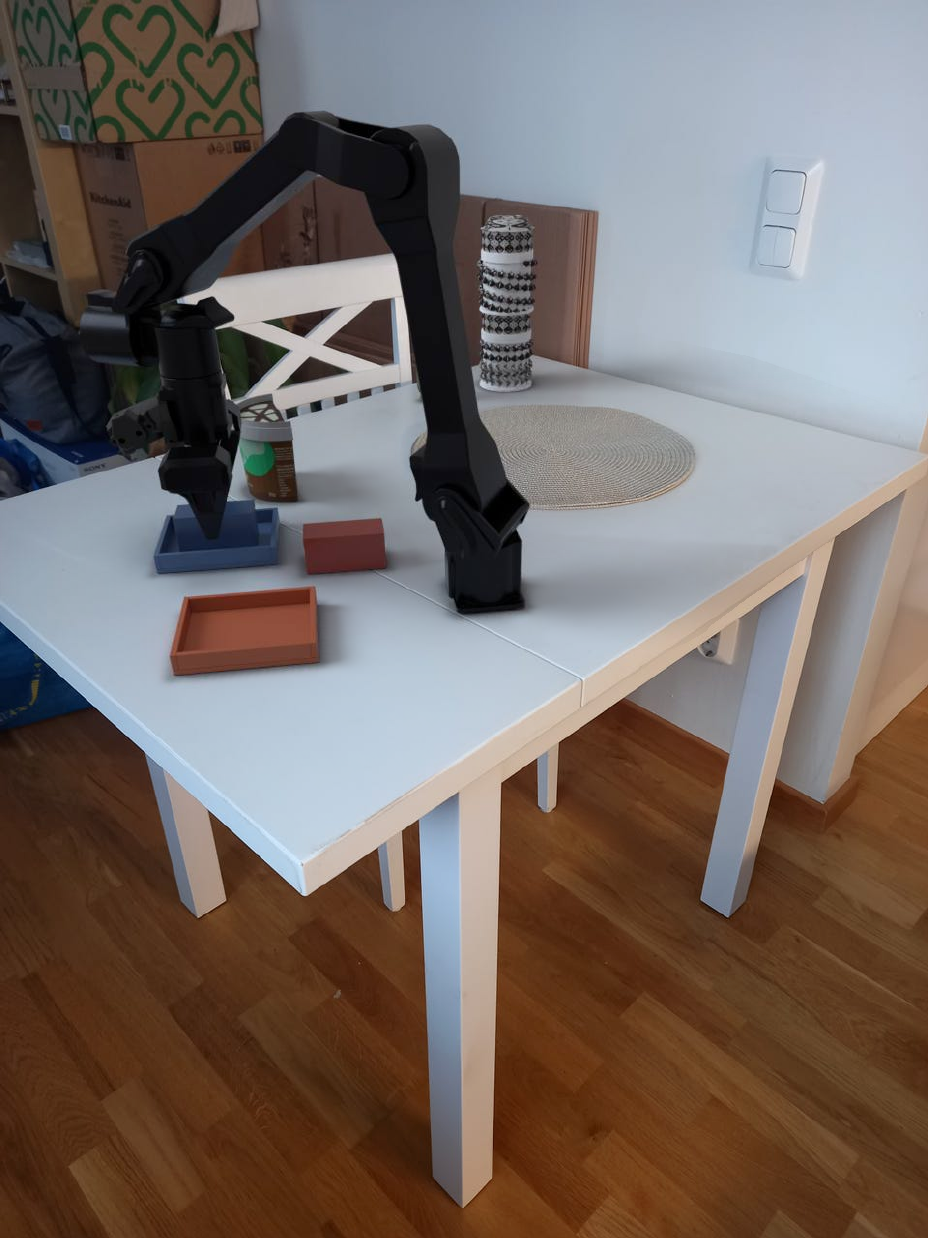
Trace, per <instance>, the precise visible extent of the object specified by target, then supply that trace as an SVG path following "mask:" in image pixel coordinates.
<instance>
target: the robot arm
mask: <svg viewBox="0 0 928 1238" xmlns="http://www.w3.org/2000/svg"><path fill="white" fill-rule="evenodd" d="M460 160H461V159H460V155H459V151H458V149H457V145H456V143H455V142H454V140H453V138H452V137H450V136H448V134H446V133H445V132H444V130H442V129H441V128H439V127H436V126H434V125H433V124H425V123H424V124H423V123H422V124H421V123H420V124H411V125H402V126H401V125H400V126H392V127H390V126H385V125H379V124H375V123H369V122H364V121H359V120H354V119H348V118H345V117H341V116H338V115H335V114H333V113H332V112H329V111H327V110H314V111H313V110H312V111H299V112H293V113H291V114H289V115H288V116H287V117H286V118H285V119H284V120H283V122H282V123H281V125H280V126H279V128H278V129H277V131H275V132H274V133H273V134H272V135H271V136H270V137H269V138H267V140H266V141H264V143H262V144H261V145H260V146H259V147H258V148H256V150H255V151H253V152H252V154H251V155H249V156H248V157H247V158H246V159H245V160H244V161H243V162H242V163H241V164H239V166H237V167H236V168H235V169H234V170H233V171H232V172H231V173H230V174H229V175H227V177H225V178H224V179H223V180H222V181H221V182H220V183H219V184H218V185H217V186H215V188H214V189H212V191H210V192H209V193H208V194H207V195H206V196H205V197H204V198H203V199H201V200H200V201H199V202H198V203H197V204H196V205H195V206H194V207H193V208H190V209H189V210H187V211H185V212H184V213H181V214H179V215H177V216H175V217H173V218H170V219H168V220H165V221H163V222H160V223H159V224H157V225H155V226H153V227H151V228H149V229H148V230H145V231H144V232H143V233H140V234H139V235H137V236H134V238H133V239H132V240H131V241H130V242H129V244H128V245H127V248H126V251H125V256H126V258H127V265H126V267H125V270H124V272H123V275H122V277H121V280H120V282H119V286H118V288H117V291H113V290H111V289H102V288H100V289H96V290H93V291H89V292H87V293H86V294H85V295H86V296H85V298H86V300H87V307H86V308H85V309H84V311H83V313H82V315H81V317H80V322H79V331H78V333H77V336H78V340H79V343H80V347H81V349H82V350H83V352H84V354H86V356H87V357H88V358H89V359H90V360H92V361H94V362H96V363H99V364H109V365H117V366H118V365H120V366H129V367H137V368H151V367H154V366H155V365H156V364H157V363H158V364H157V365H158V369H159V375H160V380H161V386H160V388H159V389H158V390H157V391H156V395H155V396H152V397H149V398H147V399H144V400H142V401H140V402H137V403H135V404H133V405H131V406H129V407H126V408H123V409H121V410H119V411H118V412H116V413H114V414H113V415H112V416H111V418H110V419H109V421H108V423H107V424H106V426H105V428H106V432H107V433H108V435H109V444H110V445H111V446H113V447H118V449H119V451H120V452H121V453H122V455H123V456H131V455H133V454H135V453H136V452H137V450H138V449H141V448H143V447H146V446H148V445H150V444H152V443H155V442H157V441H160V440H161V439H163V440H164V445H177V444H179V443H181V444H182V445H183V446H172V447H170V448H169V449H168V450H167V451H166V452H165V454H164V455H163V456H162V459H161V461H160V464H159V466H158V469H157V473H158V474H157V475H158V480H159V484H160V488H161V490H163V491H166V492H168V493H170V494H173V495H179V496H180V497H182V498H183V499H185V500H186V501H187V504H189V505H190V507H191V509H192V511H193V513H194V515H195V517H196V519H197V521H198V523H199V525H200V527H201V529H202V531H203V533H204V535H205V537H206V539H208V540H215V539H218V536H219V532H220V528H221V524H222V519H223V515H224V511H225V507H226V503H227V501H228V499H229V495H230V494H229V493H230V491H231V487H232V481H233V471H234V465H235V462H236V457H237V453H238V448H239V440H240V435H241V431H240V430H241V425H242V421H241V414H240V407H239V406H238V405H236V404H237V403H235V402H234V401H233V400H231V399H229V398H227V394H226V387H227V384H228V383H227V382H228V381H227V375H226V373H225V372H223V370H222V369H223V368H222V363H221V356H220V350H219V343H218V337H217V329H216V328H219V327H222V326H225V325H227V324H230V323H232V322H234V321H235V314H234V313H233V312H231V311H230V310H229V308H227V307H225V306H223V305H222V303H220V302H219V301H218V299H217V298H216V297H215V296H213V295H211V296H208V297H205V298H202V299H199V300H198V301H197V303H196V304H195V303H183V302H177V303H173V304H172V305H170V306H169V307H167V309H166V310H162V309H161V308H162V307H161V305H164V304H167V303H171V302H174V301H177V300H181V299H183V298H185V297H188V296H191V295H195V294H198V293H200V292H204V291H206V290H208V289H210V288H211V287H212V286H213V285H214V284H215V283H216V281H217V280H218V279H219V278H220V276H221V275H222V274H223V272H224V271H225V270H226V269H227V267H228V266H229V264H230V262H231V259H232V257H233V254H234V251H235V249H236V248H237V246H238V245H239V244H240V242H242V240H243V239H245V238H246V237H247V236H248V235H249V234H250V233H251V232H253V231H254V230H255V229H257V228H258V227H259V226H260V225H261V224H262V223H263V222H265V221H266V220H267V219H268V218H269V217H270V216H271V215H273V214H274V213H275V212H276V211H278V210H279V209H280V208H281V207H282V206H283V205H285V204H286V203H287V202H288V201H290V200H291V199H293V197H295V195H296V194H297V193H299V192H300V191H302V190H303V189H304V188H305V187H306V186H307V185H308V184H310V182H312V181H313V180H314V179H315V178H317V177H318V176H321V177H322V178H325V179H326V180H328V181H330V182H332V183H334V184H336V185H338V186H341V187H344V188H348V189H352V190H355V191H358V192H361V193H363V196H364V199H365V202H366V205H367V208H368V211H369V213H370V215H371V216H370V217H371V219H372V222H373V224H374V226H375V228H376V229H377V231H378V233H379V234H380V236H381V237H382V238H383V240H384V242H385V243H386V245H387V247H388V248H389V250H390V251H391V253H392V254H393V257H394V259H395V263H396V266H397V267H396V268H397V271H398V279H399V283H400V289H401V293H402V299H403V303H404V305H403V306H404V310H405V315H406V321H407V327H408V331H409V336H410V342H411V348H412V353H413V359H414V364H415V371H416V370H417V375H418V380H419V386H420V391H421V397H422V400H421V402H422V406H423V407H422V408H423V412H424V413H423V414H424V417H425V423H426V439H425V443H424V444H423V445H422V446H420V447H419V448H418V449H417V450H416V451H414V452H413V453H412V454H411V455H410V456H408V461H409V468H410V471H411V474H412V476H413V480H414V483H415V496H414V501H415V502H417V503H418V502H419V501H421V504H422V508H423V511H424V513H425V515H426V516H427V518H428V520H429V521H432V522H434V524H435V527H436V529H437V532H438V535H439V537H440V540H441V543H442V545H443V547H444V580H445V581H444V582H445V589H446V592H447V596H448V597H449V599H450V600H453V604H454V607H455V611H456V613H459V614H468V613H480V612H490V611H502V610H503V611H504V610H514V609H522V608H525V606H526V600H525V598H524V595H523V593H522V564H523V563H522V562H523V561H522V560H523V557H522V555H523V540H522V538H521V535H520V533H519V531H518V528H519V526H520V525H522V524H523V523H524V521H525V519H526V517H527V514H528V512H529V510H530V508H531V504H530V502H529V501H528V500H527V499H526V498H525V497H524V496H523V494H522V493H521V492H520V491H519V490H518V489H517V488H516V486H515V485H514V484H513V483H512V482H511V481H510V480H509V478H507V474H506V470H505V467H504V463H503V461H502V458H501V455H500V452H499V448H498V446H497V442H496V441H495V439H494V438H493V436H492V435H491V433H490V431H489V429H487V427H486V425H485V424H484V422H483V421H482V419H481V416H480V412H479V407H478V406H479V405H478V401H477V394H476V388H475V381H474V376H473V367H472V362H471V355H470V350H469V348H470V347H469V344H468V343H469V342H468V336H467V330H466V324H465V318H464V316H465V315H464V310H463V305H462V299H461V292H460V285H459V279H458V271H457V266H456V258H455V253H454V241H455V236H456V230H457V225H458V218H459V213H460V208H461V161H460ZM232 424H233V427H234V430H231V428H232Z"/></svg>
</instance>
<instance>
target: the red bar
mask: <svg viewBox="0 0 928 1238" xmlns="http://www.w3.org/2000/svg"><path fill="white" fill-rule="evenodd" d="M385 541H386V540H385V530H384V524H383V519H382V517H377V518H376V517H375V518H363V519H362V518H361V519H350V520H349V519H348V520H337V521H336V520H335V521H334V520H333V521H322V522H321V521H320V522H308V523H302V545H303V553H304V562H305V570H306V571H305V572H306V575H314V574H315V575H316V574H317V575H318V574H329V573H341V572H352V571H365V570H366V571H367V570H377V569H379V570H380V569H386V568H387V555H386V542H385Z"/></svg>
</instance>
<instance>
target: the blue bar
mask: <svg viewBox="0 0 928 1238" xmlns="http://www.w3.org/2000/svg"><path fill="white" fill-rule="evenodd" d="M255 502H256V501H255V499H242V500H241V499H240V500H229V501H228V500H227V503H226V507H225V511H224V515H223V519H222V524H221V528H220V532H219V536H218V539H215V540H208V539H206V537H205V535H204V533H203V531H202V529H201V527H200V525H199V523H198V521H197V519H196V517H195V515H194V513H193V511H192V509H191V507H190V505H189V503H185V504H184V503H183V504H177V505H176V507H175V511H174V514H173V515H174V517H173V522H174V528H175V533H176V538H177V543H178V548H179V552H188V551H201V550H214V549H228V548H241V547H254V546H258V539H259V528H258V522H257V515H256V509H257V508H256V503H255Z"/></svg>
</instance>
